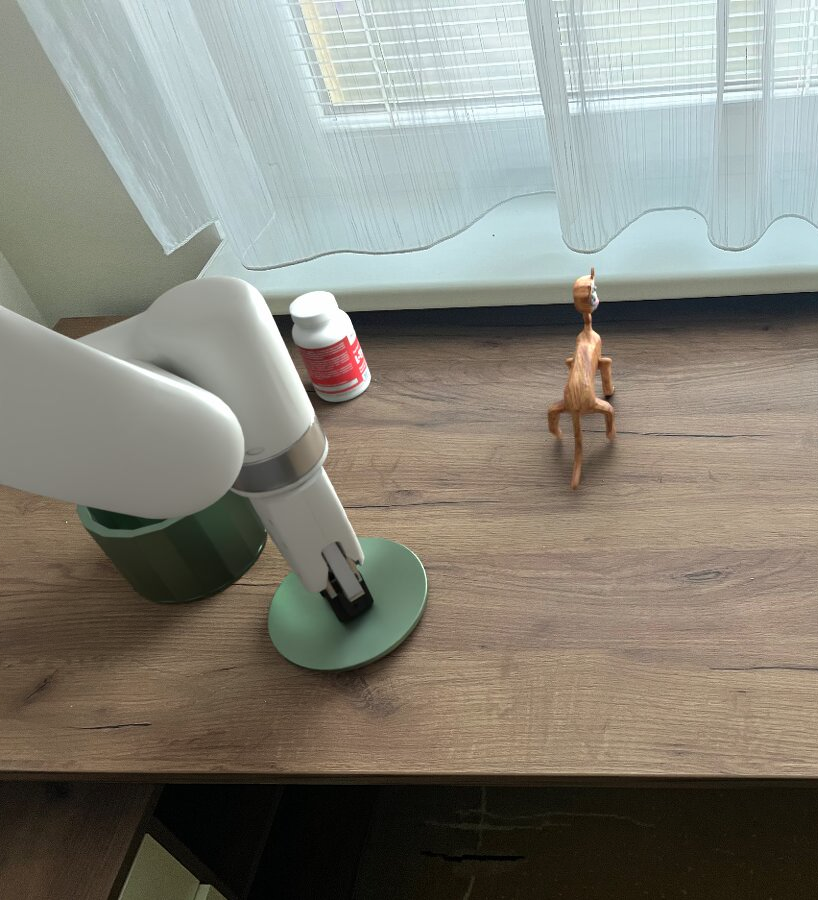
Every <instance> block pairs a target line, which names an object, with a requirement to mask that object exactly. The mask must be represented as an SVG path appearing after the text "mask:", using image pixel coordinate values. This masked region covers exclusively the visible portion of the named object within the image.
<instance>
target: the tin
mask: <svg viewBox="0 0 818 900" xmlns="http://www.w3.org/2000/svg"><path fill="white" fill-rule="evenodd" d="M75 511H76V513H77V515H78V518H79V520H80V522H81V524H82V526H83V528H84V529H85V530H86V531H87V533H88V534H89V535H90V536H91V538H92V539H93V541H94V542H95V543H96V545H98V547H99V548H100V549H101V550H102V552H103V553H104V554H105V555H106V557H107V558H108V559H109V560H110V562H111V563H112V564H113V566H114V567H115V568H116V569H117V570H118V572H119V573H120V574H121V576H122V577H123V578H124V580H125V581H126V582H127V583H128V584H129V586H130V587H131V588H132V590H133V591H135V592H136V593H137V594H138V595H139V596H141V597H142V598H144V599H146V600H148V601H150V602H152V603H156V604H159V605H165V606H166V605H168V606H178V605H186V604H191V603H196V602H199V601H202V600H205V599H207V598H210V597H212V596H215V595H216V594H219V593H220V592H222V591H224V590H226V589H228V588H229V587H230V586H232V585H234V584H235V583H237V581H239V580H240V579H241V578H242V577H243V576H245V575H246V573H248V571H249V570H251V569H252V567H253V566H254V565H255V563H256V562H257V561H258V560H259V558H260V556H261V554H262V552H263V551H264V549H265V546H266V542H267V539H268V533H267V531H266V530H265V528H264V526H263V524H262V522H261V520H260V518H259V516H258V514H257V512H256V510H255V509H254V507H253V505H252V503H251V501H250V500H249V498H248V497H244V496H240V495H238V494H236V493H234V492H232V491H231V490H230V489H229V490H228V491H227V492H226V493H225V494H224V495H223V496H222V497H221V498H220V499H219V500H217V501H216V502H215V503H214V504H212V505H210V506H208V507H207V508H205V509H203V510H201V511H199V512H196V513H193V514H191V515H187V516H183V517H178V518H169V519H150V518H143V517H137V516H132V515H127V514H122V513H117V512H112V511H107V510H102V509H98V508H93V507H87V506H82V505H77V504H76V510H75Z"/></svg>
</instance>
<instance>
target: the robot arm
mask: <svg viewBox="0 0 818 900" xmlns="http://www.w3.org/2000/svg"><path fill="white" fill-rule="evenodd" d="M328 453H329V442H328V439H327V436H326V434H325V432H324V430H323V428H322V425H321V423H320V421H319V418H318V416H317V414H316V412H315V409H314V407H313V405H312V403H311V400H310V398H309V396H308V393H307V391H306V389H305V387H304V384H303V383H302V380H301V377H300V375H299V373H298V371H297V369H296V366H295V364H294V362H293V360H292V358H291V355H290V352H289V350H288V348H287V346H286V344H285V341H284V340H283V337H282V336H281V332H280V331H279V328H278V326H277V324H276V321H275V319H274V317H273V315H272V313H271V310H270V308H269V306H268V304H267V303H266V300H265V299H264V297H263V295H262V294H261V292H260V291H258V289H257V288H256V287H255V286H253V285H252V284H251V283H249V282H247V281H246V280H243V279H241V278H238V277H233V276H227V275H209V276H204V277H199V278H194V279H191V280H188V281H185V282H183V283H181V284H178V285H175V286H174V287H171V288H170V289H168V290H167V291H165V292H163V293H162V294H160V296H159V297H157V298H156V299H155V300H154V301H153V302H152V304H150V306H148V308H147V309H146V310H144V311H142V312H140V313H137V314H136V315H134V316H131V317H129V318H126V319H125V320H121V321H120V322H117V323H115V324H112V325H109V326H107V327H104V328H102V329H100V330H99V329H98V330H96V331H94V332H91V333H88V334H86V335H84V336H81V337H79V338H78V337H77V338H76V339H73V338H72V337H71V338H70V337H69V336H66V335H64V334H62V333H59V332H57V331H54V330H53V329H50V328H48V327H46V326H44V325H42V324H39V323H38V322H35V321H33V320H31V319H29V318H27V317H25V316H23V315H21V314H18V313H17V312H15V311H12V310H10V309H8V308H6V307H4V306H3V305H1V304H0V485H3V486H5V487H9V488H11V489H12V488H13V489H16V490H20V491H23V492H26V493H30V494H34V495H37V496H41V497H44V498H49V499H51V500H57V501H60V502H64V503H68V504H74V505H76V506H77V505H82V506H87V507H93V508H98V509H102V510H107V511H112V512H117V513H122V514H127V515H132V516H137V517H143V518H150V519H169V518H178V517H183V516H187V515H191V514H193V513H196V512H199V511H201V510H203V509H205V508H207V507H208V506H210V505H212V504H214V503H215V502H216V501H217V500H219V499H220V498H221V497H222V496H223V495H224V494H225V493H226V492H227V491H228V490H229V489H230V490H231V491H232V492H234V493H236V494H238V495H240V496H244V497H248V498H249V500H250V501H251V503H252V505H253V507H254V509H255V510H256V512H257V514H258V516H259V518H260V520H261V522H262V524H263V526H264V528H265V530H266V531H267V536H268V537H269V538H270V540H271V541H272V544H274V546H275V548H276V549H277V550H278V553H280V555H281V556H282V558H283V559H284V561H285V562H286V564H287V565H288V567H289V568H290V570H291V571H293V572H294V574H295V575H296V577H297V578H298V580H299V581H300V582H301V584H302V585H303V587H304V588H305V589H306V590H307V591H308V592H310V593H313V594H317V593H320V594H321V596H322V597H326V599H327V600H328V602H329V604H330V606H331V608H332V610H333V611H334V613H335V615H336V617H337V619H338V620H339V621H340V622H345V621H347V620H348V619H350V618H351V617H353V616H355V615H357V614H358V613H360V612H361V611H363V610H364V609H366V608H367V607H369V606H370V605H372V604H373V602H374V600H373V598H372V596H371V593H370V591H369V589H368V587H367V585H366V583H365V581H364V579H363V577H362V575H361V573H360V572H359V570H357V568H356V566H358V565H360V566H362V565H363V562H364V554H363V551H362V549H361V546H360V544H359V541H358V539H357V538H358V537H357V535H356V532H355V530H354V528H353V525H352V524H351V521H350V520H349V517H348V515H347V513H346V511H345V509H344V507H343V505H342V502H341V501H340V498H339V497H338V494H337V492H336V490H335V487H334V486H333V484H332V482H331V480H330V478H329V476H328V474H327V472H326V470H325V468H324V466H323V465H324V463H325V462H326V459H327V456H328ZM354 563H355V564H354ZM355 565H356V566H355ZM331 574H334V576H335V578H336V579H334V580H333V581H330V579H329V578H328V576H330V575H331ZM324 589H326V590H324Z"/></svg>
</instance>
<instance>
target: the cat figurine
mask: <svg viewBox="0 0 818 900" xmlns="http://www.w3.org/2000/svg"><path fill="white" fill-rule="evenodd" d="M572 290H573V291H572V299H573V304H574V308H575V310H576V311H577V312H578V313H580V314H582V318H583V321H584V327H583V330H582V331H581V332H580V333H579V334H578V336H577V337H576V339H575V349H574V352H573V357H569V358H566V359H565V360H564V364H565V365H566V367H567V369H568V370H569V373H568V378H567V380H566V383H565V386H564V389H563V399H561V400H558V401H556V402H554V403H552V405H551V406H550V407H549V408H548V409H547V413H546V415H547V416H546V419H547V425H548V430H549V433H550V434H552V435H553V436H554V437H555V438H556V439H557V440H558V441H561V439H562V435H563V431H562V429H561V428H559V424H560V420H561V415H562V414H568V415H571V419H572V427H573V435H574V461H573V469H572V475H571V480H570V489H571V490H572V491H576V490H577V489H578V487H579V484H580V477H581V473H582V466H583V465H582V464H583V451H584V450H583V443H584V442H583V428H582V427H583V426H582V420H581V417H582V416H586V415H597V414H601V415H603V417H604V424H605V436H606V438H607V440H609V441H612V440H613V439H614V438H616V436H617V430H616V428H615V417H616V413H615V409H614V407H613V406H612V405H611V404H610V403H609V402H608V401H607V400H604V399H601V398H599V397H597V396H596V395H595V393H596V392H595V382H596V375H597V373H598V371H599V372H600V377H601V379H600V380H601V386H602V393H603V394H604V396H611V395H613V394H614V392H615V389H616V388H615V386H614V385H613V382H612V381H613V380H612V368H611V365H612V363H613V361H612V359H611V358H609V357H602V352H601V351H602V338H601V337H600V335H599V334H598V333H597V332H595V331H594V330H593V327H592V315H591V314H592V313H594V311H596V310H597V308H598V305H599V301H600V300H599V298H598V294H597V292H596V291H597V286H596V285H595V267H594V266H591V268H590V275H583V276H581V277H579V278H577V279H576V280H575V281H574V283H573V289H572Z"/></svg>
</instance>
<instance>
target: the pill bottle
mask: <svg viewBox="0 0 818 900" xmlns="http://www.w3.org/2000/svg"><path fill="white" fill-rule="evenodd" d="M288 311H289V312H288V313H289V315H290V317H291V320H292V322H293V323H294V324H293V326H292V328H291V329H292V330H291V335H292V336H291V337H292V339H293V342H294V344H295V347H296V349H297V351H298V353H299V356H300V358H301V360H302V362H303V366H304V367H305V370H306V372H307V374H308V376H309V378H310V381H311V384H312V386H313V388H314V390H315V392H316V394H317V396H318V397H320V398H321V399H322V400H324V401H327V402H332V403H338V402H339V403H340V402H346V401H349V400H352V399H354V398H357V397H358V396H359V395H361V394H362V393H364V391H366V390H367V388H368V387H369V385H370V383H371V373H370V369H369V367H368V364H367V361H366V358H365V355H364V353H363V351H362V348H361V345H360V342H359V339H358V337H357V334H356V331H355V329H354V326H353V324H352V323H353V322H352V321H351V319H350V317H349V315H348V314H347V313H346V312H345V311H343V310H342V309H339V306H338V303H337V301H336V299H335V296H334V295H333V294H332V293H331V292H328V291H323V290H317V291H309V292H307V293H304V294H302V295H300V296H298V297H296V298H294V300H293V301H292V302H291V303H290V305H289V307H288Z"/></svg>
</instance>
